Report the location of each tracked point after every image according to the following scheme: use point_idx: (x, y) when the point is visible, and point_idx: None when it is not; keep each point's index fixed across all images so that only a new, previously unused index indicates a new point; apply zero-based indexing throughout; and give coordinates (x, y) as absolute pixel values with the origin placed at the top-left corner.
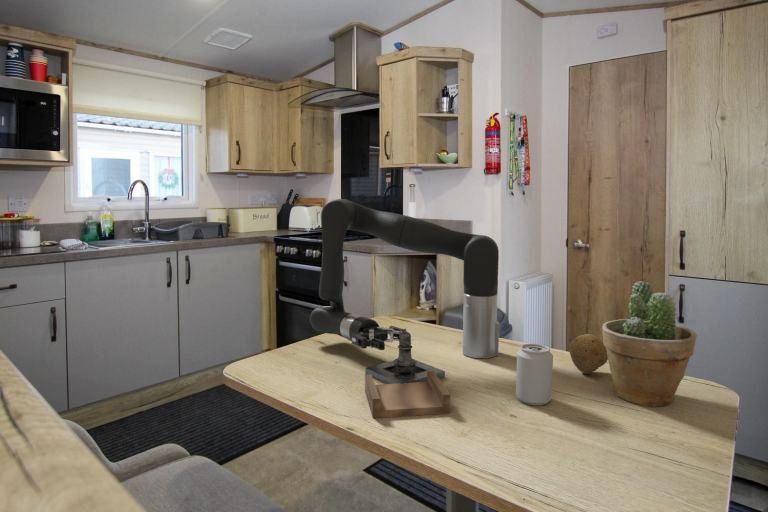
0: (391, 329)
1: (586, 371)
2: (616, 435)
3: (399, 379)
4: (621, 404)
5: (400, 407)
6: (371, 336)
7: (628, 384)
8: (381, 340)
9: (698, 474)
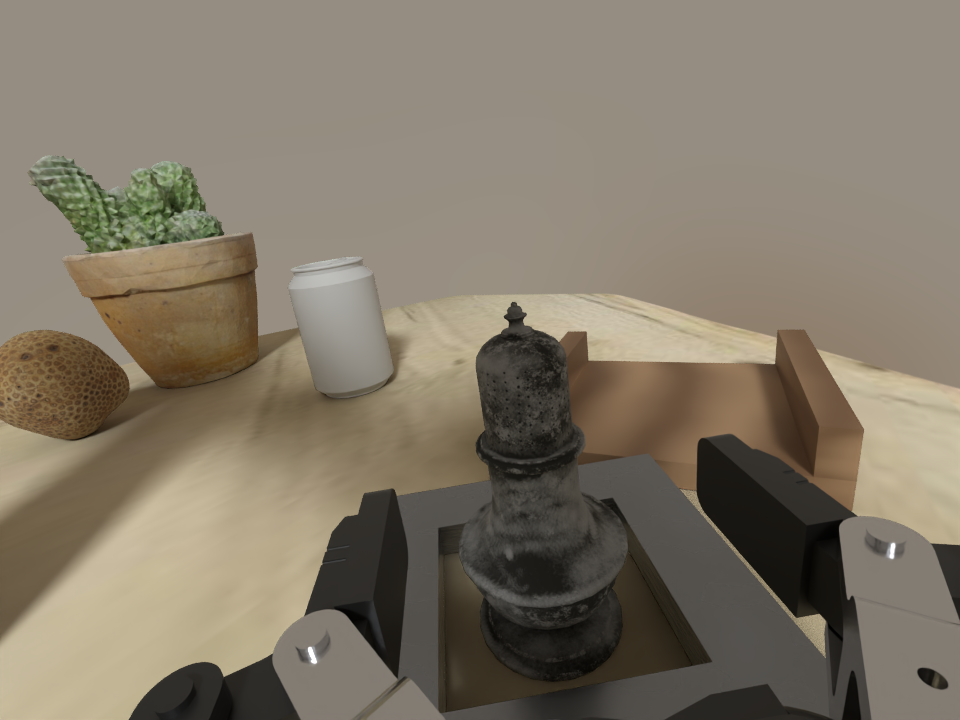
0: (399, 704)
1: (109, 413)
2: (394, 331)
3: (640, 487)
4: (270, 363)
5: (706, 366)
6: (896, 594)
7: (252, 329)
8: (727, 455)
9: (418, 306)
